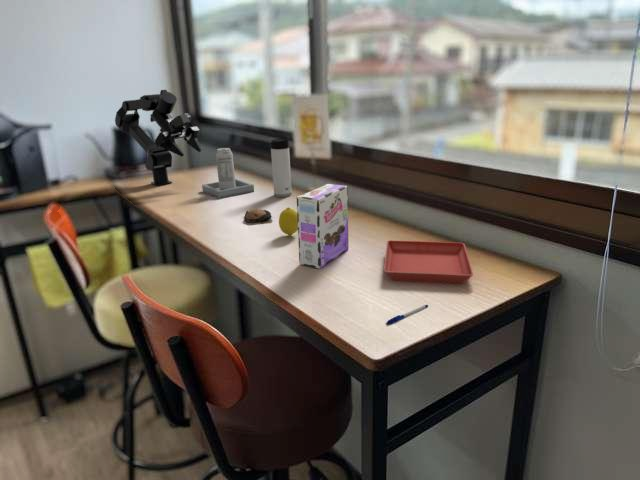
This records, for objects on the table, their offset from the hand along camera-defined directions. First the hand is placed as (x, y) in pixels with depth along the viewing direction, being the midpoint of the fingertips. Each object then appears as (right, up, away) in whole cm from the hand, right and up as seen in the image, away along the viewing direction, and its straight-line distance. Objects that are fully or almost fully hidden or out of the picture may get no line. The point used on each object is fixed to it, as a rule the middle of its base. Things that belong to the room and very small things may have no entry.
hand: (192, 153), depth 177 cm
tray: (+13, -14, 0) cm, 19 cm away
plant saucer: (+71, -39, -70) cm, 107 cm away
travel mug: (+34, -16, -7) cm, 39 cm away
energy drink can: (+13, -14, 0) cm, 19 cm away
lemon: (+39, -31, -48) cm, 69 cm away
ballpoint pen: (+63, -46, -89) cm, 119 cm away
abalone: (+29, -26, -32) cm, 51 cm away
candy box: (+49, -36, -62) cm, 87 cm away
